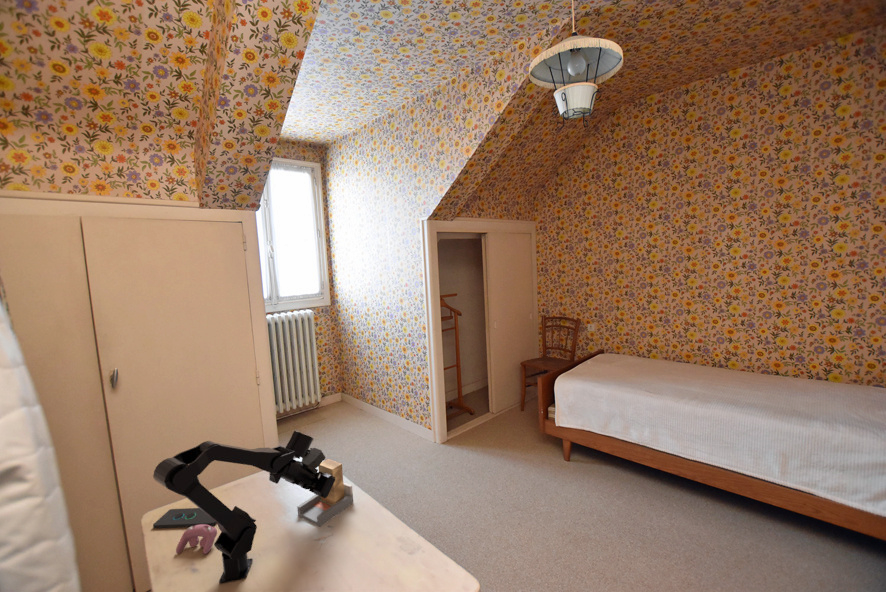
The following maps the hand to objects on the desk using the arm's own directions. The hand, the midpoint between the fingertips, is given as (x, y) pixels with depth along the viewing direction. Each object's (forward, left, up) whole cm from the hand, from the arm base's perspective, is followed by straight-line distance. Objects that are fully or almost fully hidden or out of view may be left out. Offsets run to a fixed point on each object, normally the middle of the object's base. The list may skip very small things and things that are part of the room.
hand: (326, 486), depth 127 cm
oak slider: (+2, -2, -6) cm, 6 cm away
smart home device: (+6, +43, -8) cm, 45 cm away
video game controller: (-9, +36, -8) cm, 38 cm away
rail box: (0, +1, -7) cm, 7 cm away
